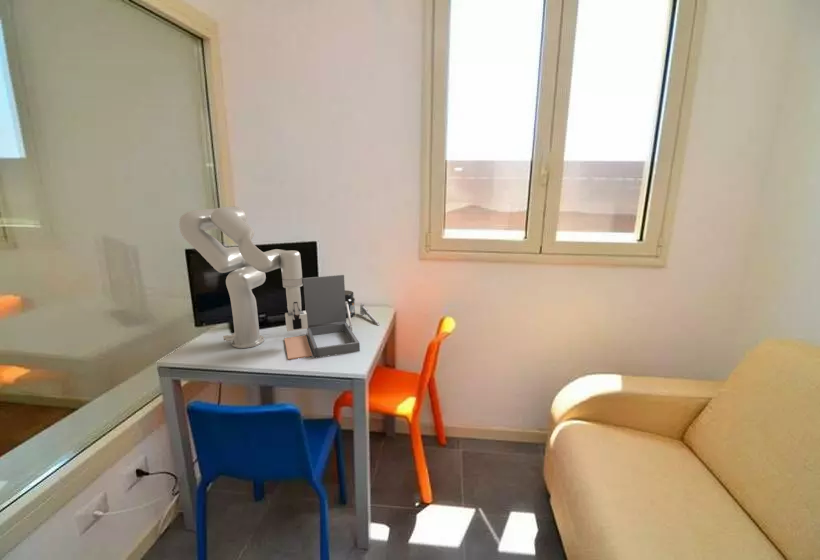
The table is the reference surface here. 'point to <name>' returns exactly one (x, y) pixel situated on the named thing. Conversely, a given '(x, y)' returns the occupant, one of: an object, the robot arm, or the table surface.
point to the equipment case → (328, 313)
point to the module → (290, 322)
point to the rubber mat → (297, 347)
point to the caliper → (365, 311)
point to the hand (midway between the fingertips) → (296, 325)
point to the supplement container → (350, 303)
